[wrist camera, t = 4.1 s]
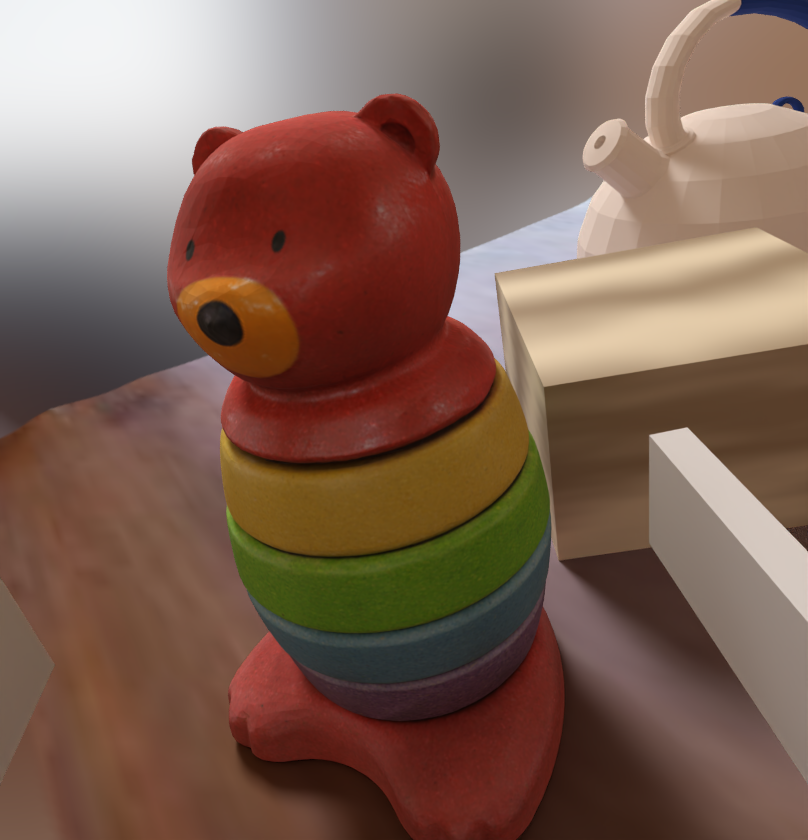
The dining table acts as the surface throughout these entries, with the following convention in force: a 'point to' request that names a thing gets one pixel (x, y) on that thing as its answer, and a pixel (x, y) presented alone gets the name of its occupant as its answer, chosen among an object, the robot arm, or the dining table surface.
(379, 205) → the stacking bear
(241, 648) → the dining table surface
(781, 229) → the kettle
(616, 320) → the birch block
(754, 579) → the robot arm
